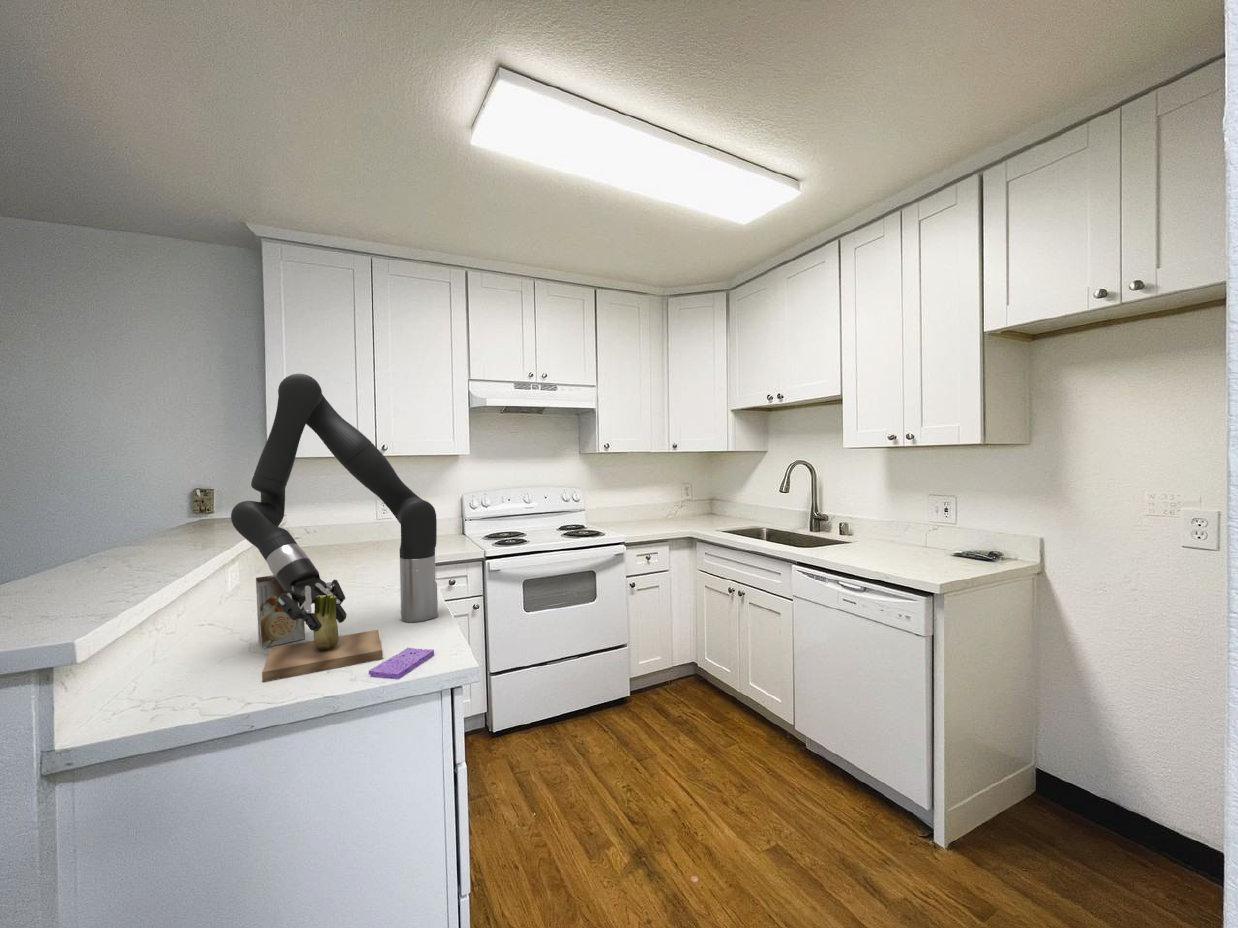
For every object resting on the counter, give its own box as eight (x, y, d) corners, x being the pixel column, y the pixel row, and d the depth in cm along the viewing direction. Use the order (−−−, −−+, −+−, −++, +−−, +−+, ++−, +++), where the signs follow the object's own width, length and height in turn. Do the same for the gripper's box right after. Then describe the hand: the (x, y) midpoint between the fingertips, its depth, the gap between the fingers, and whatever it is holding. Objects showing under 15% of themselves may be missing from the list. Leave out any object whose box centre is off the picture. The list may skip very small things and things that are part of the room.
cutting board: (378, 637, 124) (378, 629, 124) (382, 658, 111) (382, 649, 111) (271, 655, 114) (271, 647, 114) (262, 681, 101) (262, 672, 101)
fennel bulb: (309, 647, 113) (310, 594, 113) (333, 642, 117) (334, 590, 117) (318, 653, 109) (318, 598, 109) (342, 647, 113) (343, 594, 113)
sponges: (434, 657, 113) (434, 649, 113) (397, 682, 101) (397, 672, 101) (407, 654, 115) (407, 646, 115) (368, 678, 103) (367, 669, 103)
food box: (301, 632, 129) (299, 570, 129) (305, 639, 124) (303, 575, 124) (257, 641, 123) (255, 577, 123) (260, 649, 118) (258, 581, 118)
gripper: (268, 564, 108) (309, 624, 104) (328, 551, 121) (366, 604, 117) (253, 586, 110) (292, 646, 106) (313, 571, 124) (350, 624, 119)
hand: (331, 624), depth 112 cm, fingers open, 5 cm apart
